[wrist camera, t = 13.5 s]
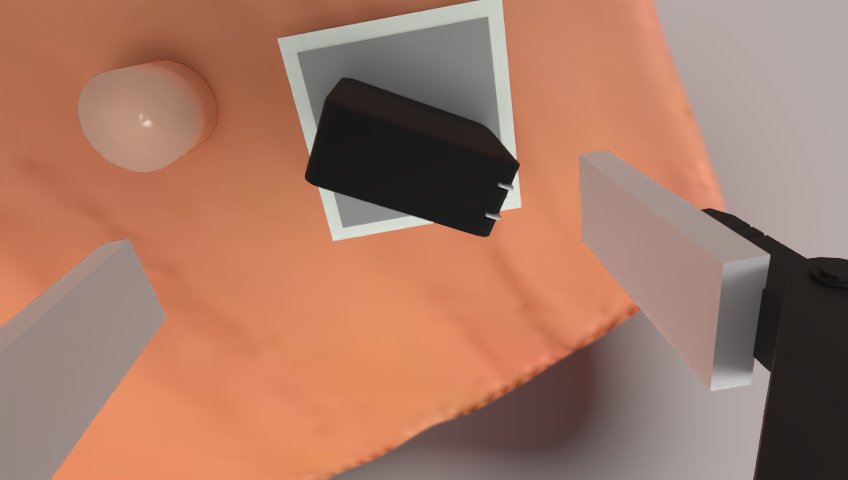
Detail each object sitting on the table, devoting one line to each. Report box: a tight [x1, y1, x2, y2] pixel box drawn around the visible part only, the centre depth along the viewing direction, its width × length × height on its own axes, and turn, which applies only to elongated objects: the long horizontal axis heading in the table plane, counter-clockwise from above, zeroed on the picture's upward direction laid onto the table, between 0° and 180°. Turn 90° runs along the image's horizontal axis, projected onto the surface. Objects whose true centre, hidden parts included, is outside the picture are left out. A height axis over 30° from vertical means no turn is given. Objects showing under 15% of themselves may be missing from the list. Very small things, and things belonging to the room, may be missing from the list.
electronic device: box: [305, 77, 520, 237], centre depth 28 cm, size 4×10×10 cm, turn 71°
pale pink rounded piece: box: [78, 61, 218, 172], centre depth 32 cm, size 6×6×6 cm
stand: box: [277, 0, 521, 241], centre depth 34 cm, size 14×14×3 cm
